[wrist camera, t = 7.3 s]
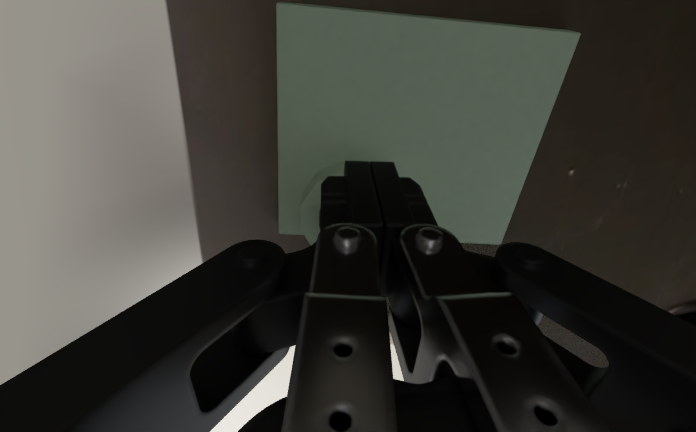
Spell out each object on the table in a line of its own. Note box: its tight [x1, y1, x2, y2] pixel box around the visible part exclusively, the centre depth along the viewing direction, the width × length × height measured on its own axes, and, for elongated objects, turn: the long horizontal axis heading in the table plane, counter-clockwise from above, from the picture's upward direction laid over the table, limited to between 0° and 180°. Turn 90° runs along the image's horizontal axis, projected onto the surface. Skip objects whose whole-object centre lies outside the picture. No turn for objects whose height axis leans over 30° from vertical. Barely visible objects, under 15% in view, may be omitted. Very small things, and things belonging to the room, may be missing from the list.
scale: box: [276, 1, 581, 245], centre depth 23 cm, size 16×15×3 cm
